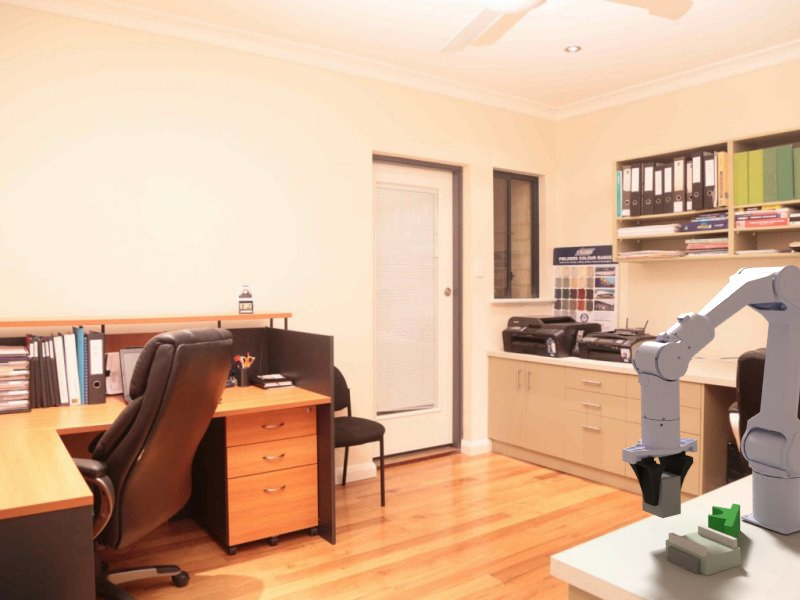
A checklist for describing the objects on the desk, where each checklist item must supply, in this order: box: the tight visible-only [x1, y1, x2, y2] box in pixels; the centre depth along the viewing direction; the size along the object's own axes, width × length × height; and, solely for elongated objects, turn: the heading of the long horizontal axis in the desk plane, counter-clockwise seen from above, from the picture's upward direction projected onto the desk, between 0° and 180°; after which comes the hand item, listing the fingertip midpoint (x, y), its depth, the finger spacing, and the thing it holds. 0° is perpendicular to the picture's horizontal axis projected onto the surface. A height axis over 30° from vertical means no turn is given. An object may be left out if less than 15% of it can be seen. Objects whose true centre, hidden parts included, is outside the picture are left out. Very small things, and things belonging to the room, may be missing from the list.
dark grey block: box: [641, 471, 682, 519], centre depth 98 cm, size 4×5×6 cm
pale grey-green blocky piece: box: [665, 524, 742, 577], centre depth 91 cm, size 8×7×4 cm
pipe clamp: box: [707, 503, 741, 540], centre depth 98 cm, size 11×4×5 cm, turn 145°
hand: (661, 501), depth 98 cm, fingers closed on dark grey block, 4 cm apart
